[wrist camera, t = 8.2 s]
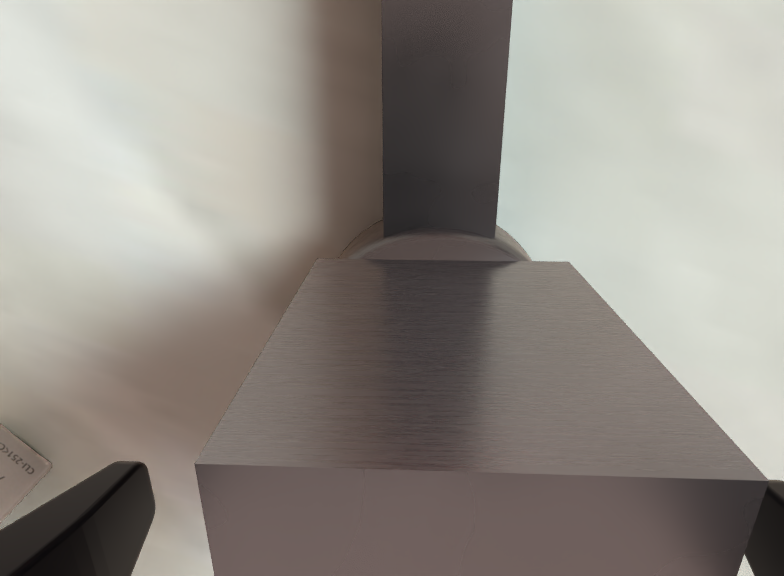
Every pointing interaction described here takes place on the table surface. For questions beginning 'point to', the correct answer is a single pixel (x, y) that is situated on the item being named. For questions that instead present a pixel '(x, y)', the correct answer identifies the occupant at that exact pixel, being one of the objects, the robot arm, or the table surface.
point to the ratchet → (442, 133)
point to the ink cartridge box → (17, 470)
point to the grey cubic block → (468, 436)
